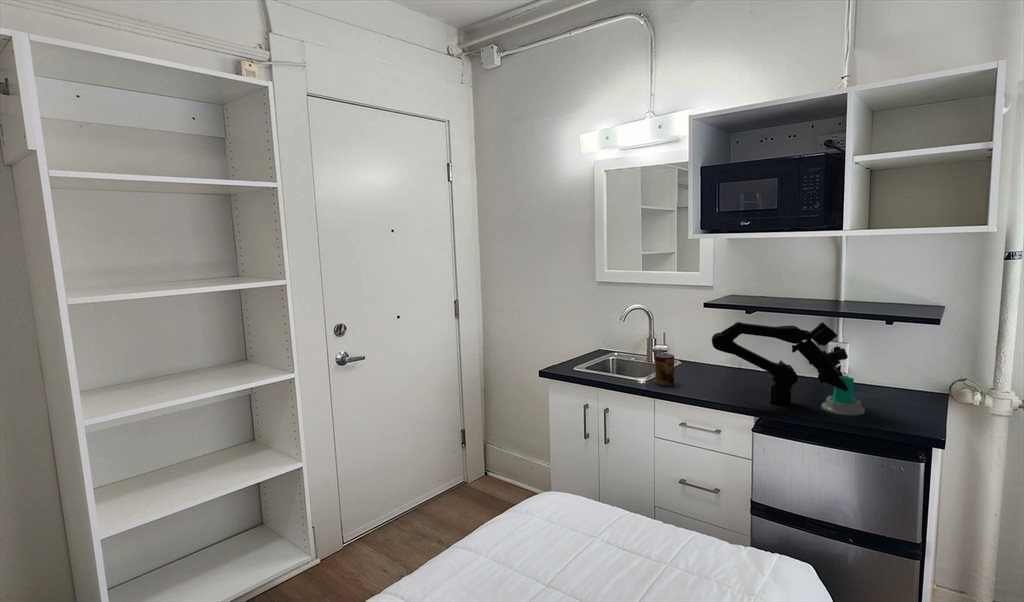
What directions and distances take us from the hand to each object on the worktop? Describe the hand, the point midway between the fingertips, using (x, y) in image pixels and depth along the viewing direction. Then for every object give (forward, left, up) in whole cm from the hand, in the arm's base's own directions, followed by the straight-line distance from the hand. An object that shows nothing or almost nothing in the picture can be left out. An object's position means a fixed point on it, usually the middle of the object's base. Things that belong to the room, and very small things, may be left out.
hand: (847, 388), depth 189 cm
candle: (-1, 0, -7) cm, 7 cm away
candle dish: (-1, 0, -8) cm, 8 cm away
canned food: (-67, -4, -8) cm, 68 cm away
